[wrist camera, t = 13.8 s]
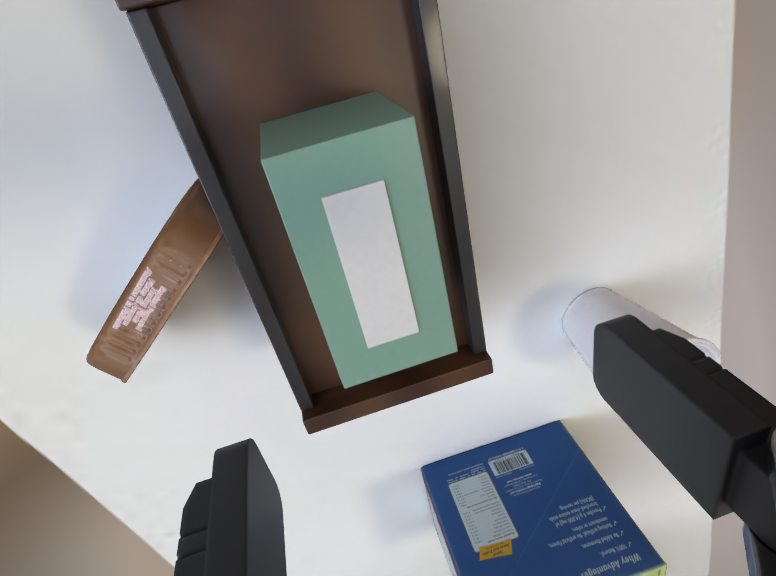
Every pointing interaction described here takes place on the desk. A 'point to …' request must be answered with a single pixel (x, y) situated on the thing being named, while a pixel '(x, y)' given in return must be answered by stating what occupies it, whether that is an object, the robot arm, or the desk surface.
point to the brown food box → (157, 285)
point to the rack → (295, 95)
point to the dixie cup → (609, 306)
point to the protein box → (533, 512)
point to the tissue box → (362, 232)
